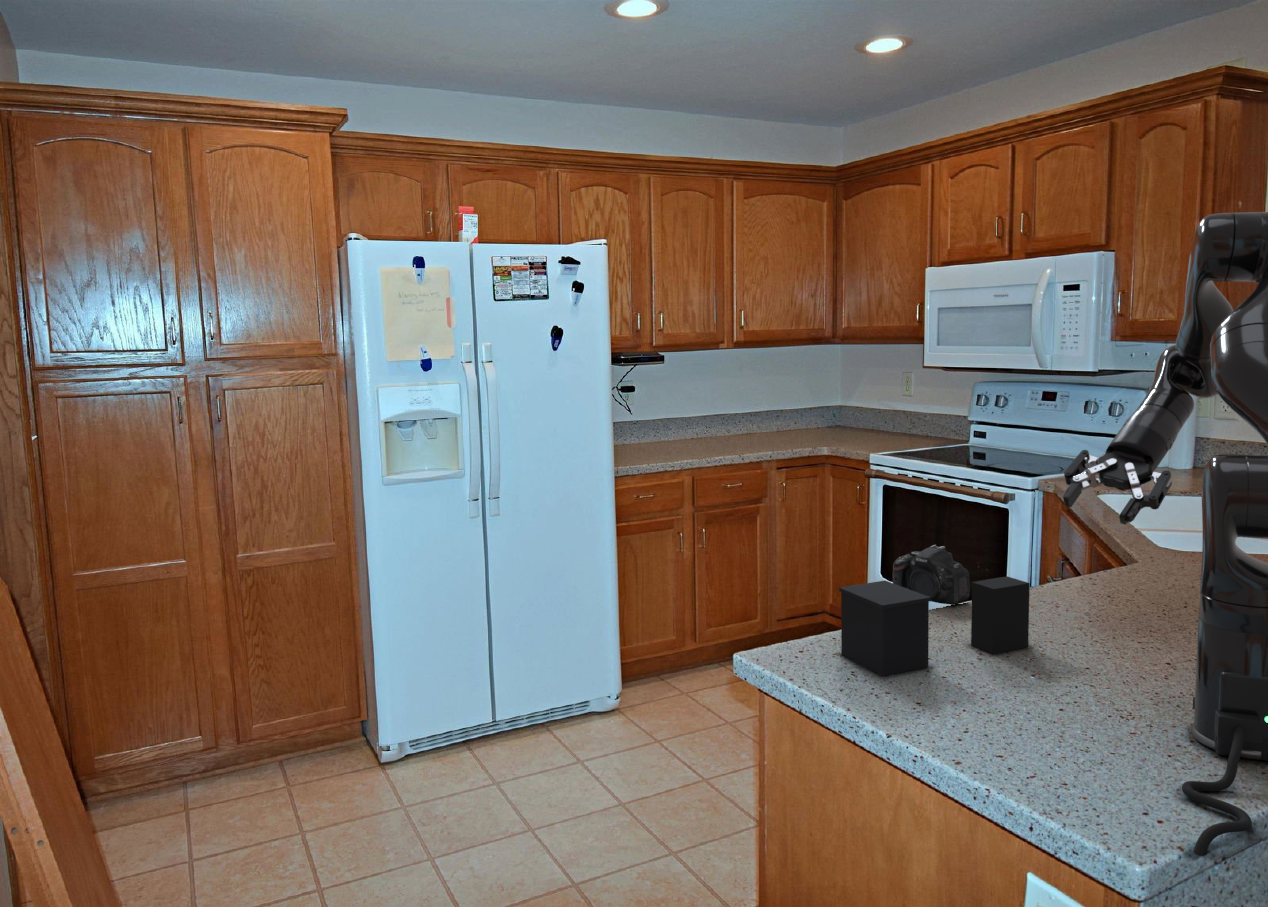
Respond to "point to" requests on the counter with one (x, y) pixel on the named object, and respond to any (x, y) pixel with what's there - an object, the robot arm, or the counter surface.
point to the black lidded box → (885, 627)
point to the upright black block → (1000, 614)
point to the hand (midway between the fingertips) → (1094, 512)
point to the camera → (933, 575)
